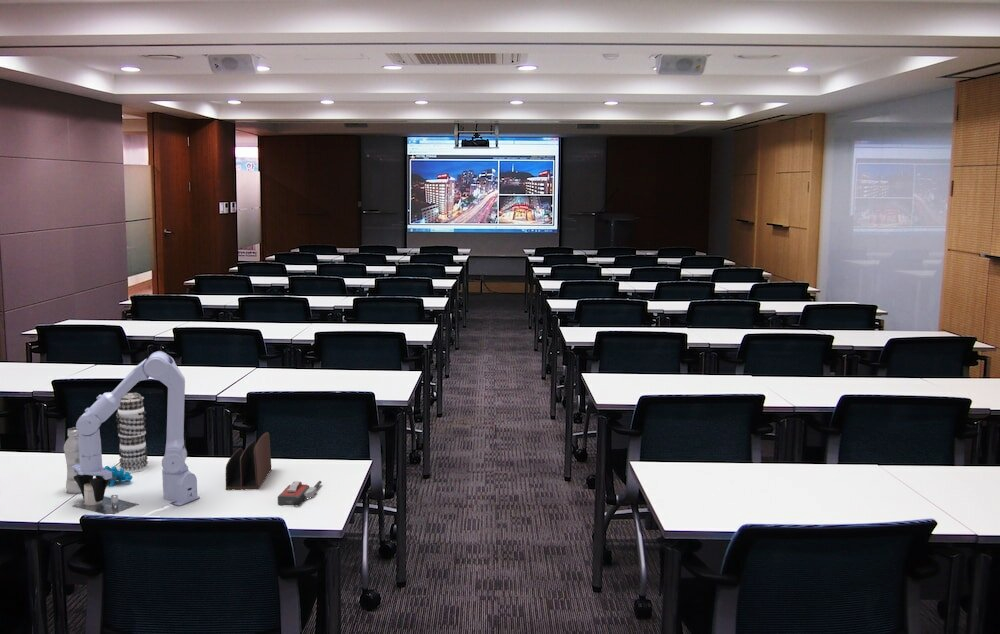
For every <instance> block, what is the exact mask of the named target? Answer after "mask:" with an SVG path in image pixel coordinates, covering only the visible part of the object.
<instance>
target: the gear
mask: <svg viewBox="0 0 1000 634" xmlns="http://www.w3.org/2000/svg"><path fill="white" fill-rule="evenodd" d="M104 468H105V469H107V470H109V471H112V478H111V479H110V480H109V482H110V484H109V485H108V487H109V488H112V487H114V484H115V482H116V481H119V482H131V480H132V479H133V475H131V472H130V473H129V472H124V469H121V468H119V470H118V468H117V466H111V467H110V466H109V465H105V466H104ZM109 482H108V483H109Z"/></svg>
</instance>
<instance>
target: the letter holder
mask: <svg viewBox="0 0 1000 634" xmlns="http://www.w3.org/2000/svg"><path fill="white" fill-rule="evenodd" d="M270 438H271V437H270V433H269V432H268V431H266V432H264V433H263V434H262V435H261V436H260V437H259V438H258V440H257V442H256V440H253V441H251V442H249V444H247V445H246V447H245V449H243V448H242V447H239V448H238V449H237V450H236V451H235V452H233V454H232V455H231V456H230V458H229V459H228V461H227V463H226V464H225V491H233V490H232V489H235V490H234V491H246V490H245V489H258V490H259V489H260V487H261V486H262V484H263V483H264V481H265V480H266V478H267V477H268V475H269V474H270V472H271V471H272V469H271V468H272V456H271V455H272V454H271V440H270ZM270 470H271V471H270ZM269 471H270V472H269ZM268 473H269V474H268ZM267 474H268V475H267ZM266 476H267V477H266ZM265 477H266V478H265ZM264 479H265V480H264ZM263 480H264V481H263ZM262 482H263V483H262ZM228 489H229V490H228ZM241 489H243V490H241Z"/></svg>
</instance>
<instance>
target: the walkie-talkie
mask: <svg viewBox="0 0 1000 634" xmlns="http://www.w3.org/2000/svg"><path fill="white" fill-rule="evenodd" d="M302 482H303V481H293V482H292V483H291V484H289V485H288V486H287V487H285V488H284V490H283V491H282V492H281V493H280V494H279V495H277V505H278V506H283V505H298V506H300V505H301V504H302V503H303V501H304V500H303V499H307V498H310V497H312V498H313V497H314V496H315V495H316V494H317V493H316V492H317V489H318V488H319V487H320V485H321V484H322V481H321V480H318V482H317V483H316V484H315V485H314V486H313V487H312V486H310V485H308V484H304V483H302ZM315 493H316V494H315ZM314 494H315V495H314ZM310 499H311V498H310ZM302 500H303V501H302ZM307 500H308V499H307ZM301 502H302V503H301ZM299 504H300V505H299Z"/></svg>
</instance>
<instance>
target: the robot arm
mask: <svg viewBox="0 0 1000 634" xmlns="http://www.w3.org/2000/svg"><path fill="white" fill-rule="evenodd" d="M149 378H151V379H153V380H156V381H159V382H160V383H162V384H163V385H165V386H166V387H167V407H166V408H167V410H166V411H167V412H166V415H167V417H166V443H165V451H164V455H163V458H162V460H161V467H162V469H161V471H162V472H161V475H162V493H163V495H162V496H163V499H164V500H167V501H172V502H170V504H171V505H175V506H182V505H186V504H188V503H190V502H192V501H194V500H197V499H200V498H201V497H200V495H198V480H197V476H196V475H195V474H194V473H193V472H191V471H190V470H189V465H187V463H186V460H187V458H188V457H187V456H188V451H187V449H186V446H185V440H184V439H185V438H184V434H185V433H184V432H185V431H184V430H185V429H184V427H185V426H184V425H185V398H186V397H185V396H186V395H185V394H186V392H185V391H186V379H185V376H184V374H183V373H182V372H181V370H180V368H179V367H178V366H177V364H176V361H175V360H174V358H173V357H172V356H171V355H169V354H167V353H166V352H164V351H161V350H158V351H155V352H152V353H151V354H150V355H149V356H148V358H145V359H144V360H142V361H141V362H140V363H138V364H137V365H136V366H135V367H134V368H133V369H132V370H131V371H130V372H129V373H128V374H127V375H126V376H125V377H124V379H122V380H121V382H120V383H119V384H118V385H117V386H116V387H115V388H114V389H113V390H112V391H111V392H110V391H108V392H104V393H103V394H99V395H98V396H96V401H94V402H93V404H92V405H91V406H90V407H86V408H85V409H84V412H83V414H82V415H80V416H79V417H78V419H77V421H76V424H75V428H76V429H77V431H78V432H79V452H80V465H78V464H77V465H74V466H72V472H73V473H76V472H78V474H77V475H76V476H74V480H75V481H76V482H77V484H78V486H79V488H80V490H81V493H80V494H81V496H82V498H83V499H84V484H86V483H89V482H90V483H91V485H92V487H93V490H94V497H95V501H96V502H99V501H102V500H103V498H104V496H105V492H106V489H107V486H108V484H109V480H110V479H111V478H112V471H109V470H107V469H105V466H103V458H102V457H103V456H102V455H103V454H102V439H101V433H100V431H101V430H100V427H101V425H102V423H104V422H106V421H107V420H108V419H109V418H110V417H111V416H112V415H113V414H114V413H115V412H116V411H118V408H119V407H120V399H121V398H122V397H123V396H124V395H125V394H126V393H129V392H130V391H131V390H132V388H133V387H134V386H136V385H137V383H140V382H141V381H146V380H149Z"/></svg>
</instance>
